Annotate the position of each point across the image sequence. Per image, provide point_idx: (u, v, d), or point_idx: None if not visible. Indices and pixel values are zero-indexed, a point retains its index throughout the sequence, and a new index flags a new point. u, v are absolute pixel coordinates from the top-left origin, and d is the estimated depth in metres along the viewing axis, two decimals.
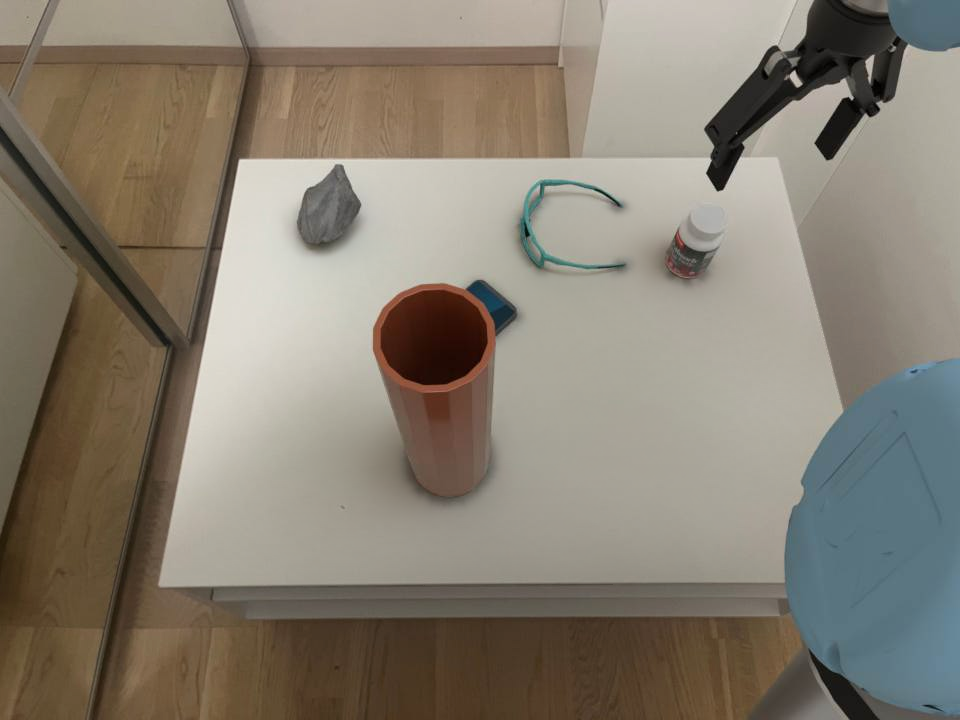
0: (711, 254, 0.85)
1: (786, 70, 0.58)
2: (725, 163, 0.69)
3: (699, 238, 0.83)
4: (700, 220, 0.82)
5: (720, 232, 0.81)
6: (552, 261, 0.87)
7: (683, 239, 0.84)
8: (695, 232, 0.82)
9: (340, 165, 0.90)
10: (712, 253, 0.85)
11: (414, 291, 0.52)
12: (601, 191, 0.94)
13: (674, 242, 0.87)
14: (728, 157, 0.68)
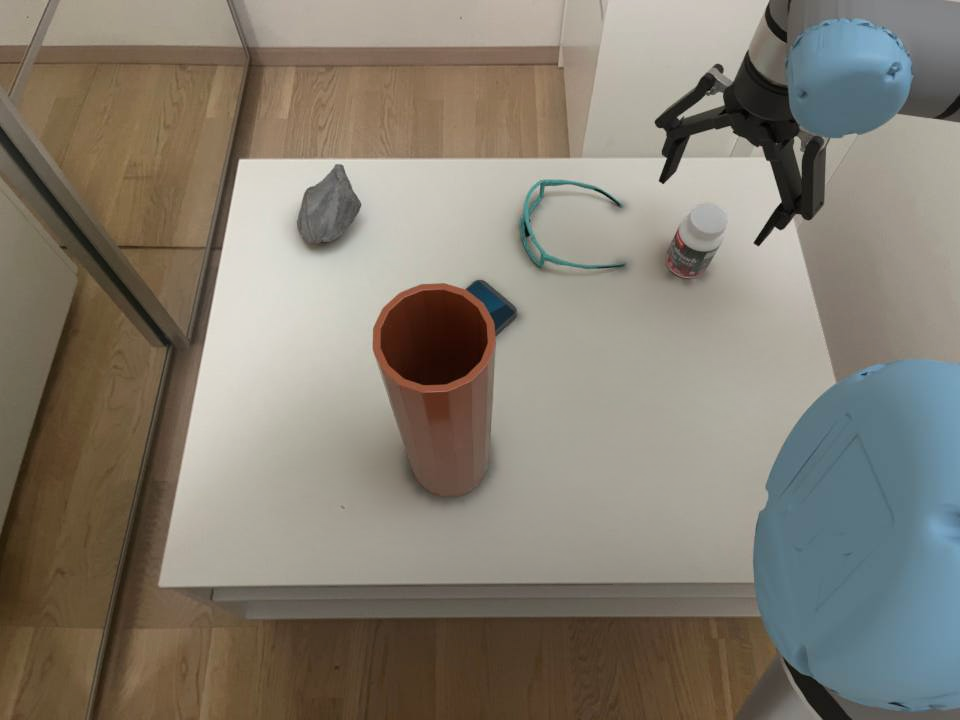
0: (711, 254, 0.85)
1: (704, 82, 0.67)
2: None
3: (699, 238, 0.83)
4: (700, 220, 0.82)
5: (720, 232, 0.81)
6: (552, 261, 0.87)
7: (683, 239, 0.84)
8: (695, 232, 0.82)
9: (340, 165, 0.90)
10: (712, 253, 0.85)
11: (414, 291, 0.52)
12: (601, 191, 0.94)
13: (674, 242, 0.87)
14: None
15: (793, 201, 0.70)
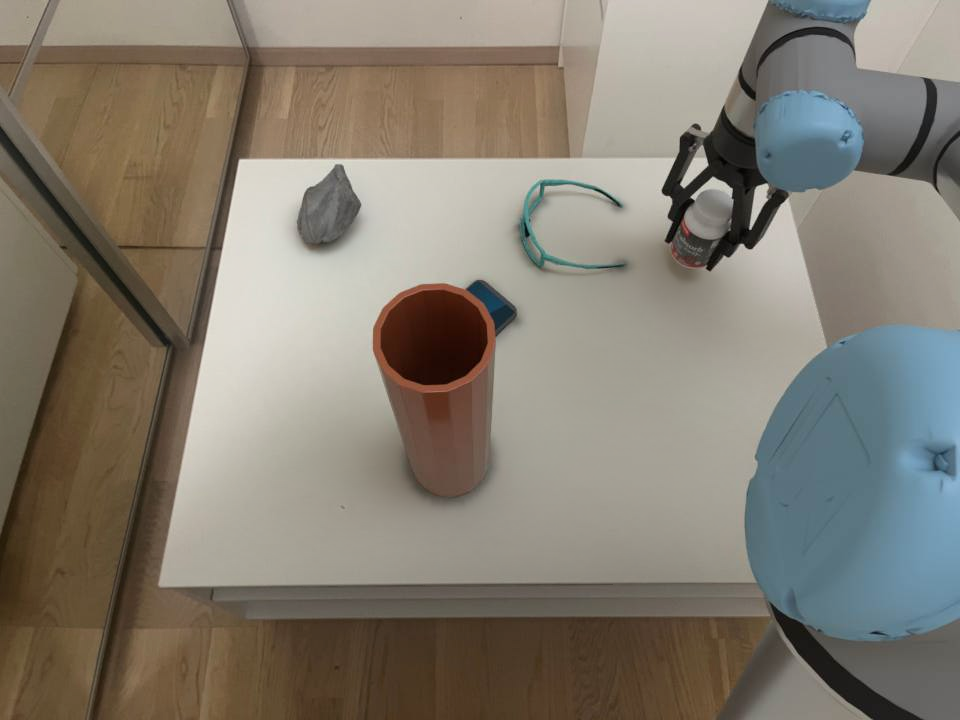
0: (718, 243, 0.82)
1: (683, 140, 0.74)
2: (674, 220, 0.85)
3: (706, 225, 0.80)
4: (707, 206, 0.79)
5: (728, 219, 0.78)
6: (552, 261, 0.87)
7: (689, 227, 0.81)
8: (702, 219, 0.79)
9: (340, 165, 0.90)
10: (719, 241, 0.82)
11: (414, 291, 0.52)
12: (601, 191, 0.94)
13: (679, 230, 0.84)
14: None
15: (740, 235, 0.79)
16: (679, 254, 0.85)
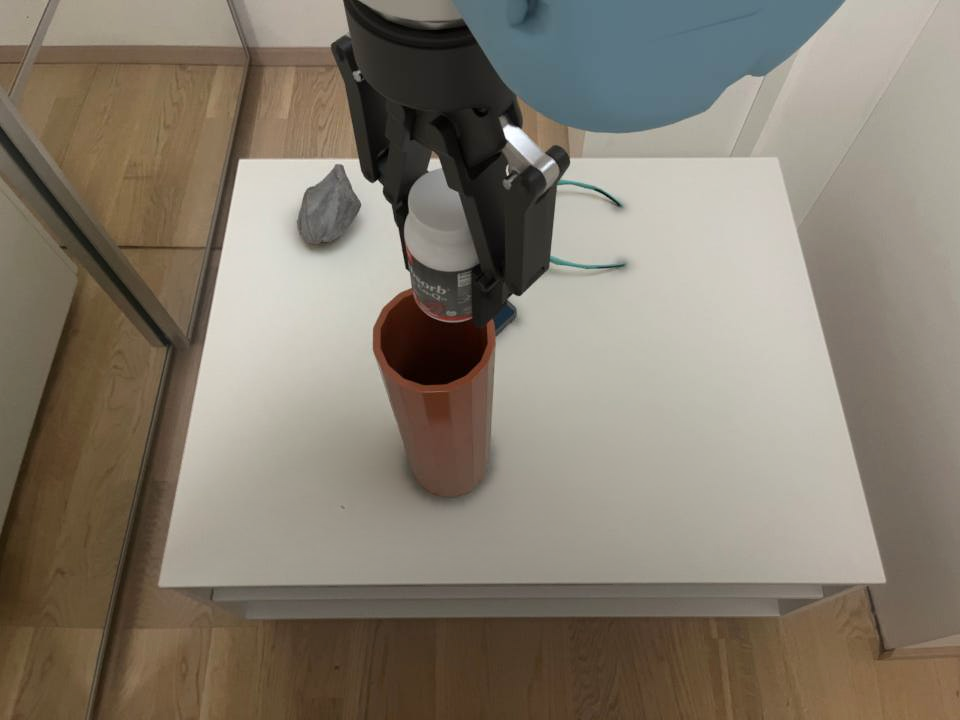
0: None
1: (336, 56, 0.33)
2: None
3: (433, 243, 0.38)
4: (428, 204, 0.37)
5: (469, 230, 0.37)
6: (552, 261, 0.87)
7: (408, 245, 0.40)
8: (419, 230, 0.38)
9: (340, 165, 0.90)
10: None
11: None
12: (601, 191, 0.94)
13: None
14: None
15: (495, 265, 0.37)
16: (417, 295, 0.44)
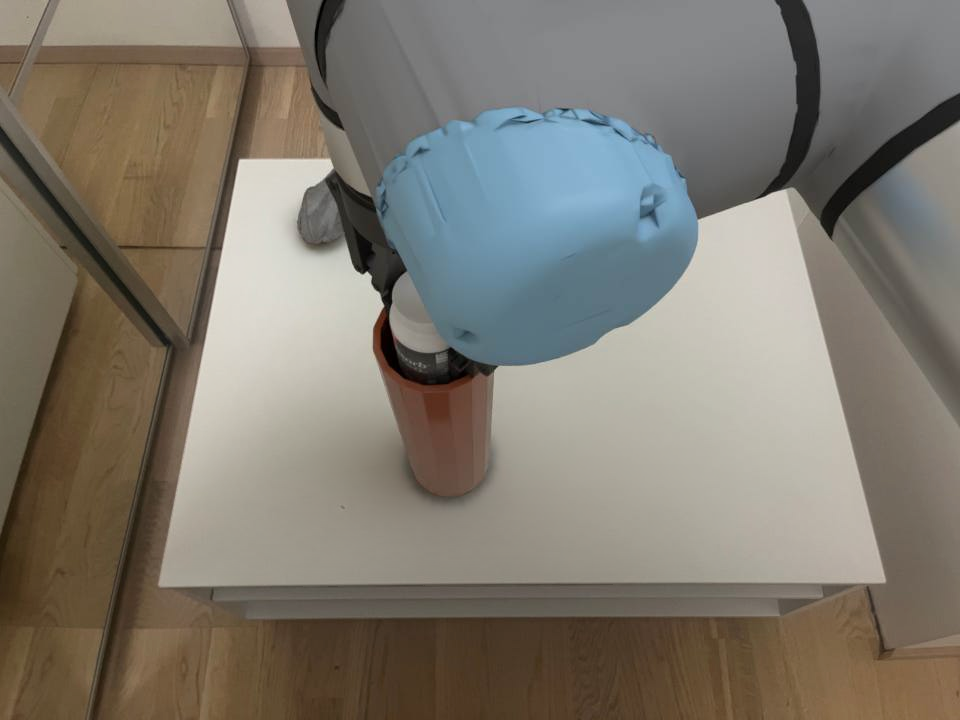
0: None
1: (330, 187, 0.39)
2: None
3: (414, 330, 0.45)
4: (409, 299, 0.44)
5: None
6: None
7: (393, 330, 0.46)
8: (401, 321, 0.44)
9: None
10: None
11: None
12: None
13: None
14: None
15: None
16: (402, 366, 0.51)
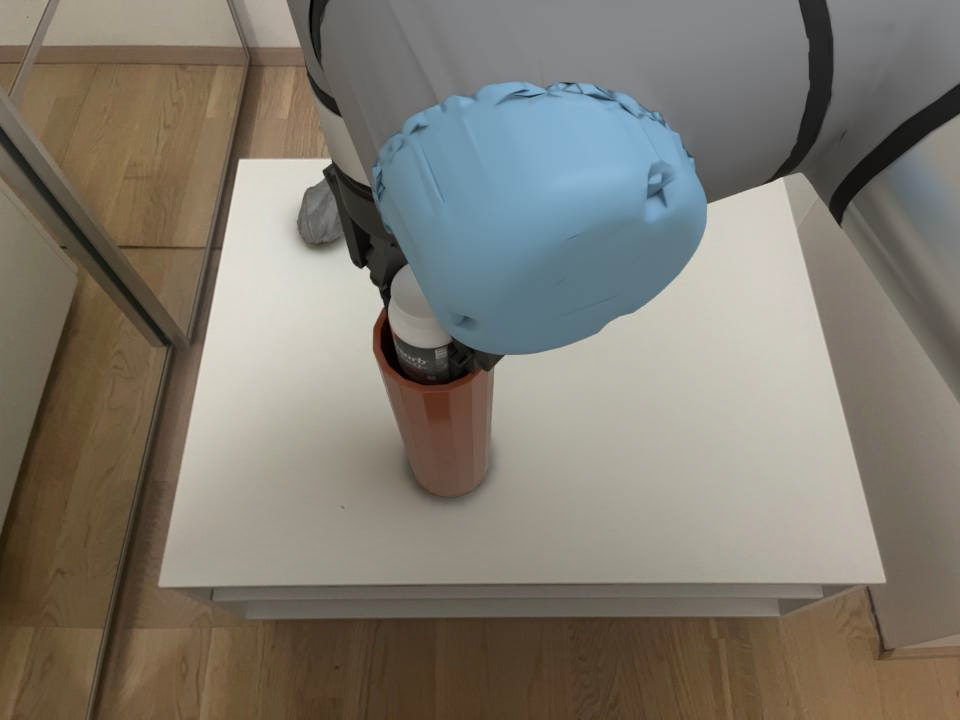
0: None
1: (327, 179, 0.39)
2: None
3: (413, 325, 0.44)
4: (408, 293, 0.43)
5: None
6: None
7: (391, 325, 0.46)
8: (400, 316, 0.44)
9: None
10: None
11: None
12: None
13: None
14: None
15: (467, 346, 0.43)
16: (401, 362, 0.50)
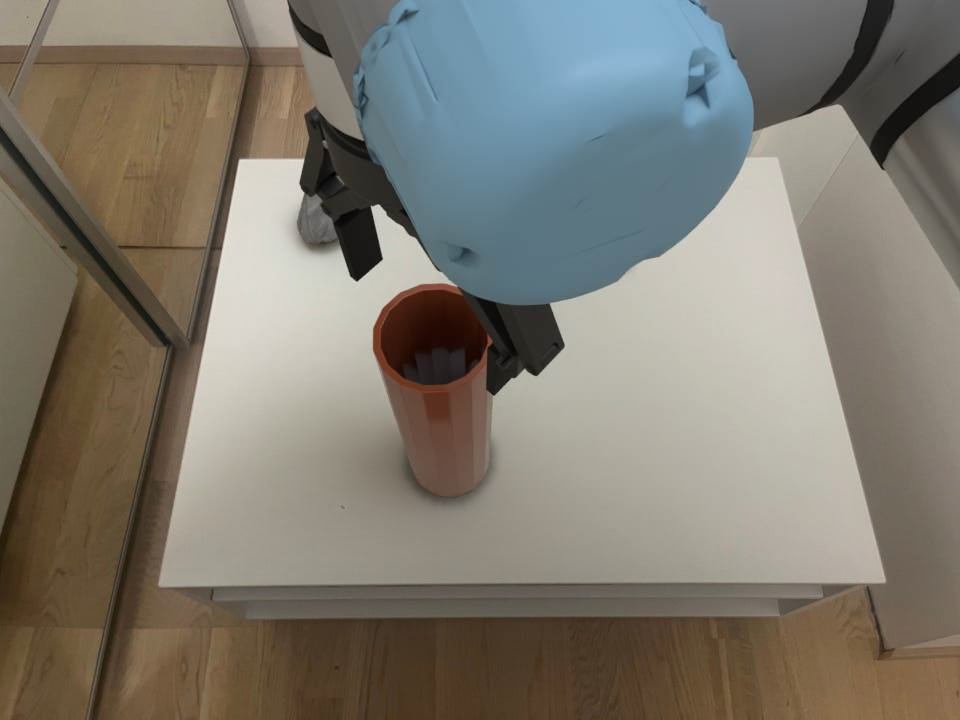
0: None
1: (310, 125, 0.35)
2: None
3: None
4: None
5: None
6: None
7: None
8: None
9: None
10: None
11: (414, 291, 0.52)
12: None
13: None
14: None
15: (506, 341, 0.38)
16: None
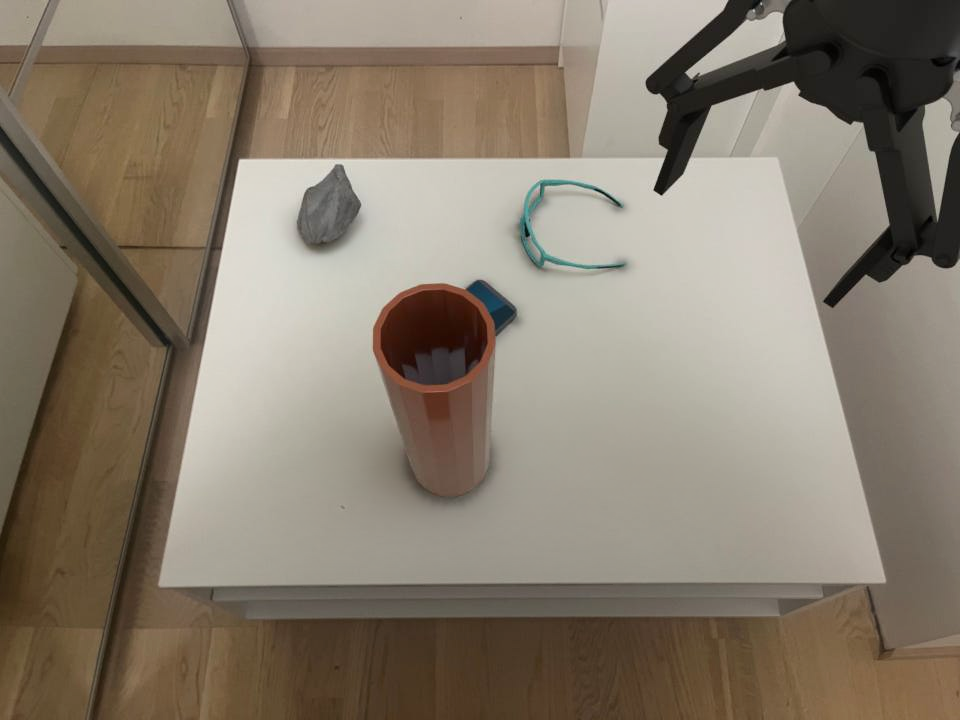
0: None
1: None
2: None
3: None
4: None
5: None
6: (552, 261, 0.87)
7: None
8: None
9: (340, 165, 0.90)
10: None
11: (414, 291, 0.52)
12: (601, 191, 0.94)
13: None
14: None
15: (916, 231, 0.36)
16: None
